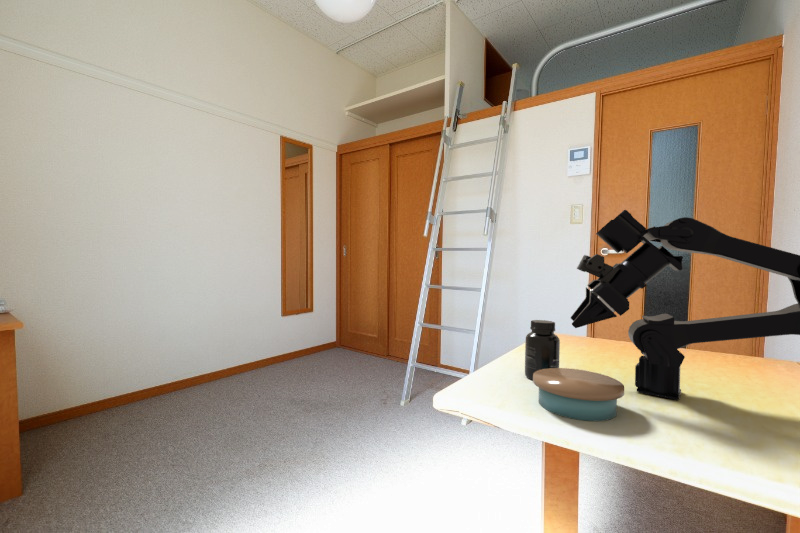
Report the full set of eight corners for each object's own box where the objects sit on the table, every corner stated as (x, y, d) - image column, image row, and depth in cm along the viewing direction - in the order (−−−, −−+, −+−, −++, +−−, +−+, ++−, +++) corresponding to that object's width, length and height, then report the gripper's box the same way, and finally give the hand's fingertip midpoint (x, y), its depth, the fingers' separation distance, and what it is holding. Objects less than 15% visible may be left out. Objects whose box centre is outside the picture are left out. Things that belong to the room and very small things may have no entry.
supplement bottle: (562, 384, 76) (563, 324, 75) (526, 381, 77) (527, 323, 77) (555, 374, 82) (556, 319, 82) (522, 372, 84) (523, 318, 83)
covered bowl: (630, 404, 65) (631, 378, 65) (614, 432, 54) (614, 401, 54) (548, 386, 74) (548, 363, 74) (519, 407, 63) (520, 380, 63)
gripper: (599, 243, 83) (545, 290, 88) (609, 238, 66) (541, 297, 71) (640, 280, 80) (581, 327, 85) (661, 284, 63) (587, 343, 68)
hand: (572, 322), depth 77 cm, fingers open, 9 cm apart
